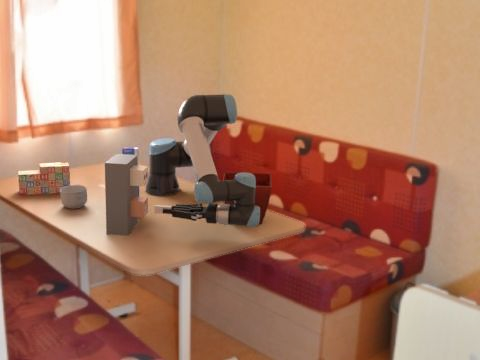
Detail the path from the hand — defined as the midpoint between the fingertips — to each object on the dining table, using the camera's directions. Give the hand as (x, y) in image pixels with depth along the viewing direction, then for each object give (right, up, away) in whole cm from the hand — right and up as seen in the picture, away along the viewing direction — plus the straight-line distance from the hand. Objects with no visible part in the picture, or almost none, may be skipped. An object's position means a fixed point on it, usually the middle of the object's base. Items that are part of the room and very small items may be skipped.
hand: (154, 209), depth 238 cm
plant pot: (+34, -5, +19) cm, 39 cm away
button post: (-13, -7, +4) cm, 15 cm away
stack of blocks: (-54, +5, +45) cm, 71 cm away
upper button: (-7, +9, -1) cm, 12 cm away
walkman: (-23, +15, +82) cm, 86 cm away
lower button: (-8, -2, +2) cm, 8 cm away
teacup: (-37, 0, +28) cm, 46 cm away
